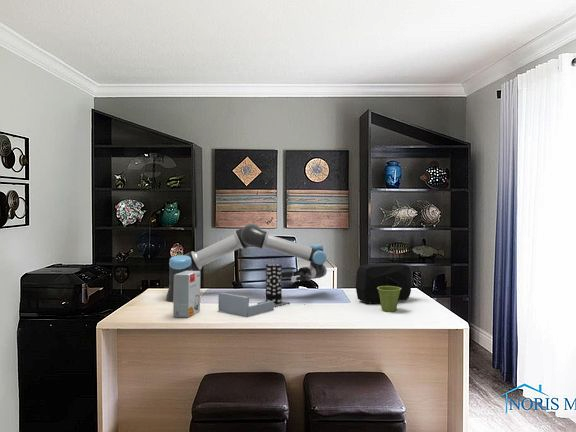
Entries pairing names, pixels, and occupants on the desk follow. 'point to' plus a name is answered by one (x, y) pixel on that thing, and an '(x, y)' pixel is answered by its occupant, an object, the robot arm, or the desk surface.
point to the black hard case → (382, 280)
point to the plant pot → (389, 297)
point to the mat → (277, 304)
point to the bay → (242, 305)
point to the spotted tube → (274, 283)
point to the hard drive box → (186, 294)
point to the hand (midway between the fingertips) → (281, 278)
